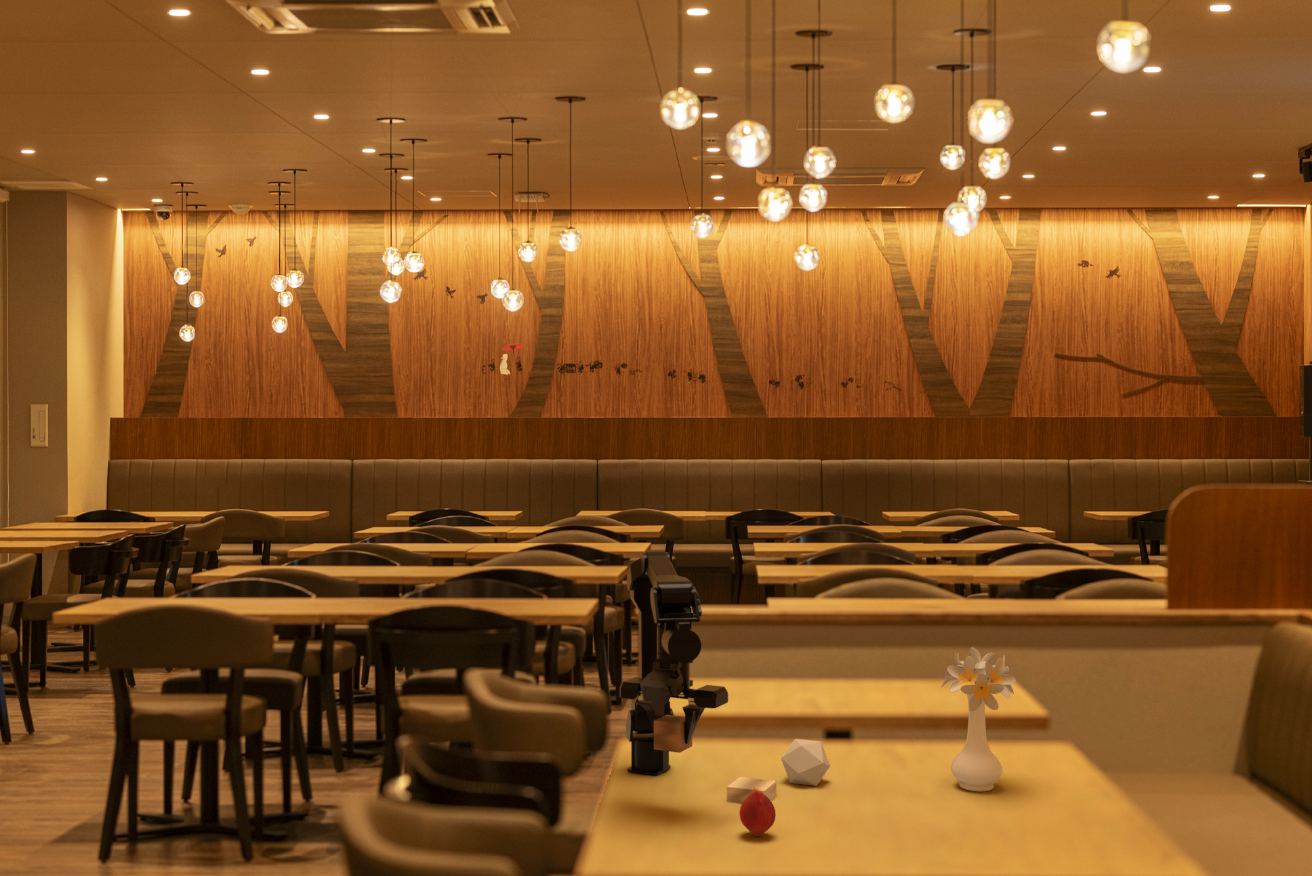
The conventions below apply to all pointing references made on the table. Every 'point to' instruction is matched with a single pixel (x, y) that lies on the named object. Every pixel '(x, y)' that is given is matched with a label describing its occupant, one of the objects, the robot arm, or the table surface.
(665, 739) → the walnut cube
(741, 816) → the onion
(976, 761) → the flower vase
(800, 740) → the die
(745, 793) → the maple base
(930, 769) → the table surface
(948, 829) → the table surface
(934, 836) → the table surface
